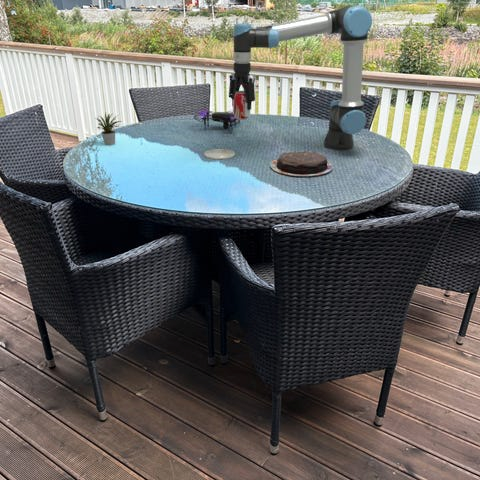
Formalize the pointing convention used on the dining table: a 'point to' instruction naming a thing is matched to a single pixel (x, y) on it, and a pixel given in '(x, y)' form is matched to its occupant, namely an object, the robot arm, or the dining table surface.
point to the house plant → (108, 129)
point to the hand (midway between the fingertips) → (241, 115)
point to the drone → (218, 118)
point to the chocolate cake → (301, 164)
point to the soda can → (239, 105)
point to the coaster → (219, 154)
